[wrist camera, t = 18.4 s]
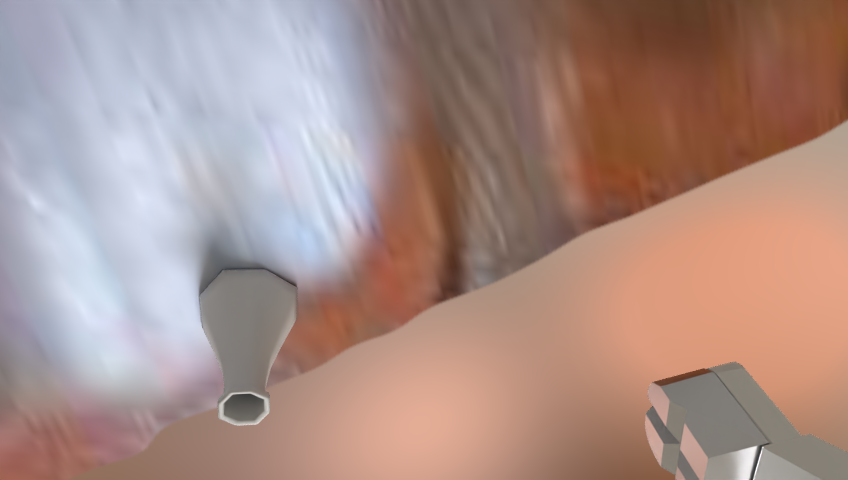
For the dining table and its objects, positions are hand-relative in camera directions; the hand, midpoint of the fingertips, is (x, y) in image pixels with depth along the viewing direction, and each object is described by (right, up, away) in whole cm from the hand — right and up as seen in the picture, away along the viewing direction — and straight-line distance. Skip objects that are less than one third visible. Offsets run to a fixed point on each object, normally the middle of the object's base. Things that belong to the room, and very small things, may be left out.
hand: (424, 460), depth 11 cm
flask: (-13, -1, +36) cm, 39 cm away
